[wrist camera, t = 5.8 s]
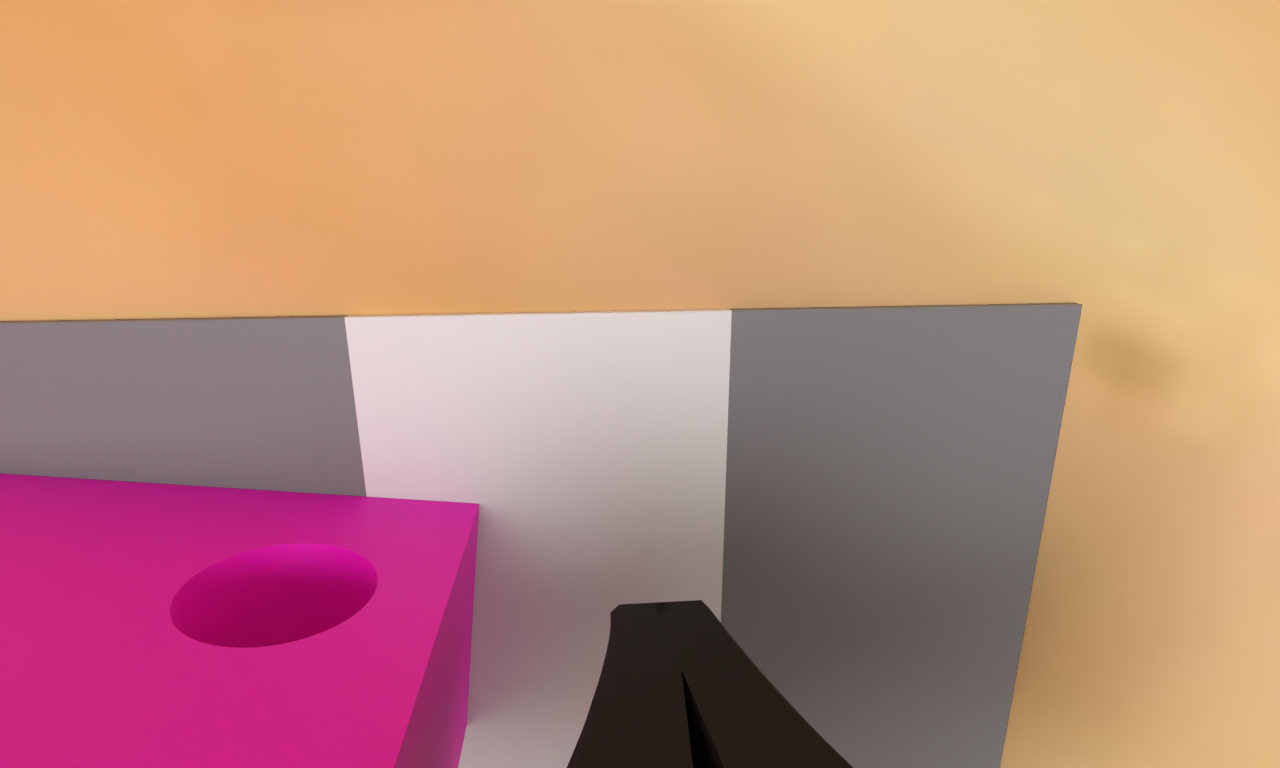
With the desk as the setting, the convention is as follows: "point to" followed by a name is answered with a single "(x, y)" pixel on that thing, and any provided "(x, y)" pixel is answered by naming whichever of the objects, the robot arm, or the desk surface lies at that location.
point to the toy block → (231, 627)
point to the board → (631, 483)
